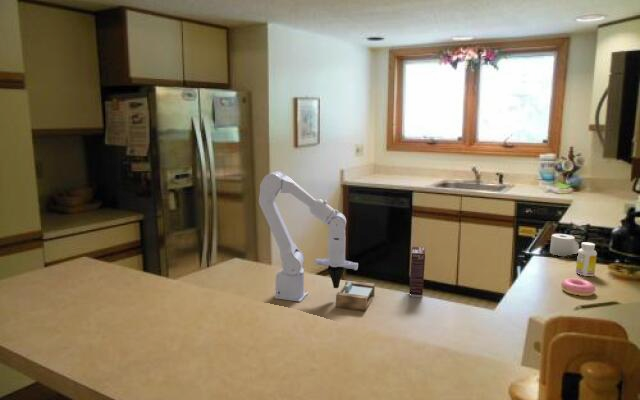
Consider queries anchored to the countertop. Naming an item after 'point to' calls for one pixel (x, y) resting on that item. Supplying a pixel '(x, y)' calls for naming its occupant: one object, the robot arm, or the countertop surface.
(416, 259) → the supplement box
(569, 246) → the toilet tissue
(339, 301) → the box
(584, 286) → the doughnut
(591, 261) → the supplement bottle
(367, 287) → the lid
